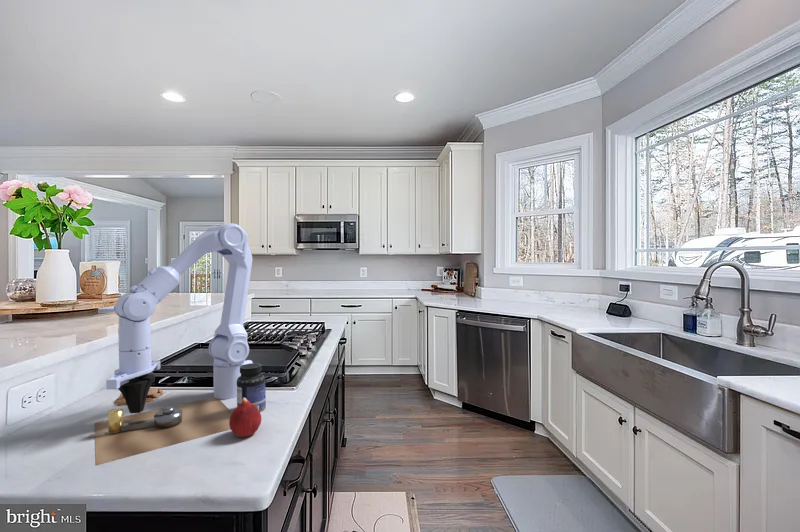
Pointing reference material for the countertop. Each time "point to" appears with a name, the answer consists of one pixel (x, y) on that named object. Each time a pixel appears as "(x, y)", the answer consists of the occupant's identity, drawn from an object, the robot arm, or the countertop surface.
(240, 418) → the red rounded piece
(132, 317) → the robot arm
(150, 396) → the cookie
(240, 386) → the pill bottle
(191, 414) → the brown cutting board
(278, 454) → the countertop surface
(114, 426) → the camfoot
